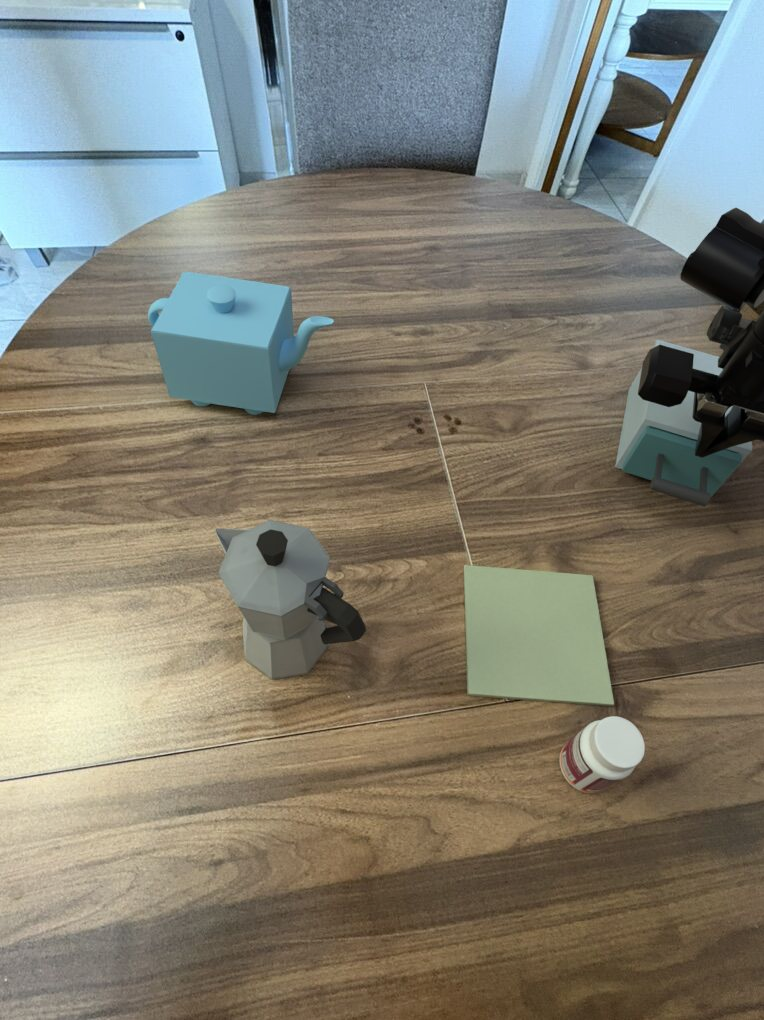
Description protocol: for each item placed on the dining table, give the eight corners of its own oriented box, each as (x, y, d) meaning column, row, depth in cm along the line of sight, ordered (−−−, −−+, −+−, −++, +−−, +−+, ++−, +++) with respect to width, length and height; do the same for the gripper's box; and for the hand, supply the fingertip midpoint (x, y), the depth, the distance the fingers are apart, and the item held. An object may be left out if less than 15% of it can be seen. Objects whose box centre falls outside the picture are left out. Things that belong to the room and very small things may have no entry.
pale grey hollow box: (711, 497, 74) (752, 450, 67) (614, 467, 76) (645, 418, 69) (715, 415, 83) (752, 365, 75) (628, 390, 84) (656, 339, 77)
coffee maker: (205, 636, 60) (165, 538, 45) (263, 572, 64) (245, 463, 49) (328, 726, 56) (329, 650, 41) (382, 650, 60) (400, 558, 45)
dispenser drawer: (707, 533, 70) (741, 497, 64) (616, 503, 72) (640, 466, 66) (713, 421, 81) (743, 382, 75) (633, 397, 82) (656, 358, 76)
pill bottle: (617, 756, 56) (657, 731, 49) (600, 805, 54) (640, 785, 47) (568, 728, 57) (601, 699, 50) (550, 774, 55) (582, 751, 48)
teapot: (150, 403, 76) (120, 311, 65) (179, 345, 83) (156, 252, 71) (324, 430, 76) (324, 342, 65) (340, 369, 82) (342, 279, 71)
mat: (591, 577, 67) (592, 575, 66) (612, 706, 59) (614, 704, 58) (463, 567, 66) (464, 564, 66) (467, 695, 58) (468, 693, 58)
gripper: (888, 313, 56) (785, 428, 69) (684, 260, 59) (621, 380, 72) (905, 391, 50) (788, 502, 63) (676, 328, 53) (608, 447, 66)
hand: (698, 453), depth 66 cm, fingers closed
